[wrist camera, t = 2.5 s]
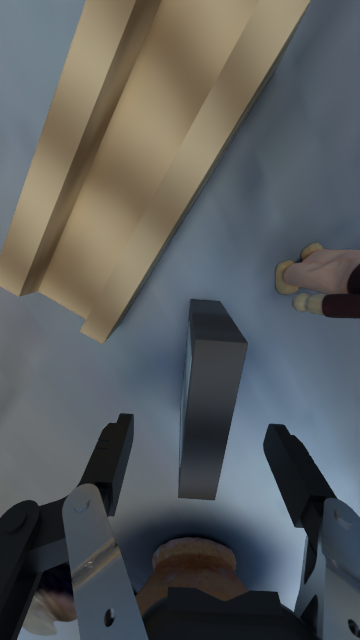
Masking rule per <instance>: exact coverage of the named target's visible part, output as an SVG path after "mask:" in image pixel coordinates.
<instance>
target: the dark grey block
mask: <svg viewBox="0 0 360 640" xmlns="http://www.w3.org/2000/svg"><path fill="white" fill-rule="evenodd" d="M247 346H248V343H247V341H246V340H245V338H244V337H243V335H242V334H241V332H240V331H239V329H238V328H237V326H236V325H235V323H234V322H233V320H232V319H231V317H230V316H229V314H228V313H227V311H226V310H225V308H224V307H223V305H222V304H221V302H220V301H210V300H196V299H191V300H190V311H189V322H188V333H187V343H186V354H185V365H184V376H183V387H182V397H181V408H180V448H179V490H178V498H188V499H202V500H215V497H216V492H217V487H218V482H219V478H220V473H221V468H222V464H223V459H224V454H225V449H226V445H227V440H228V435H229V431H230V426H231V421H232V416H233V412H234V407H235V402H236V397H237V393H238V388H239V383H240V379H241V374H242V369H243V364H244V360H245V355H246V350H247Z"/></svg>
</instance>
